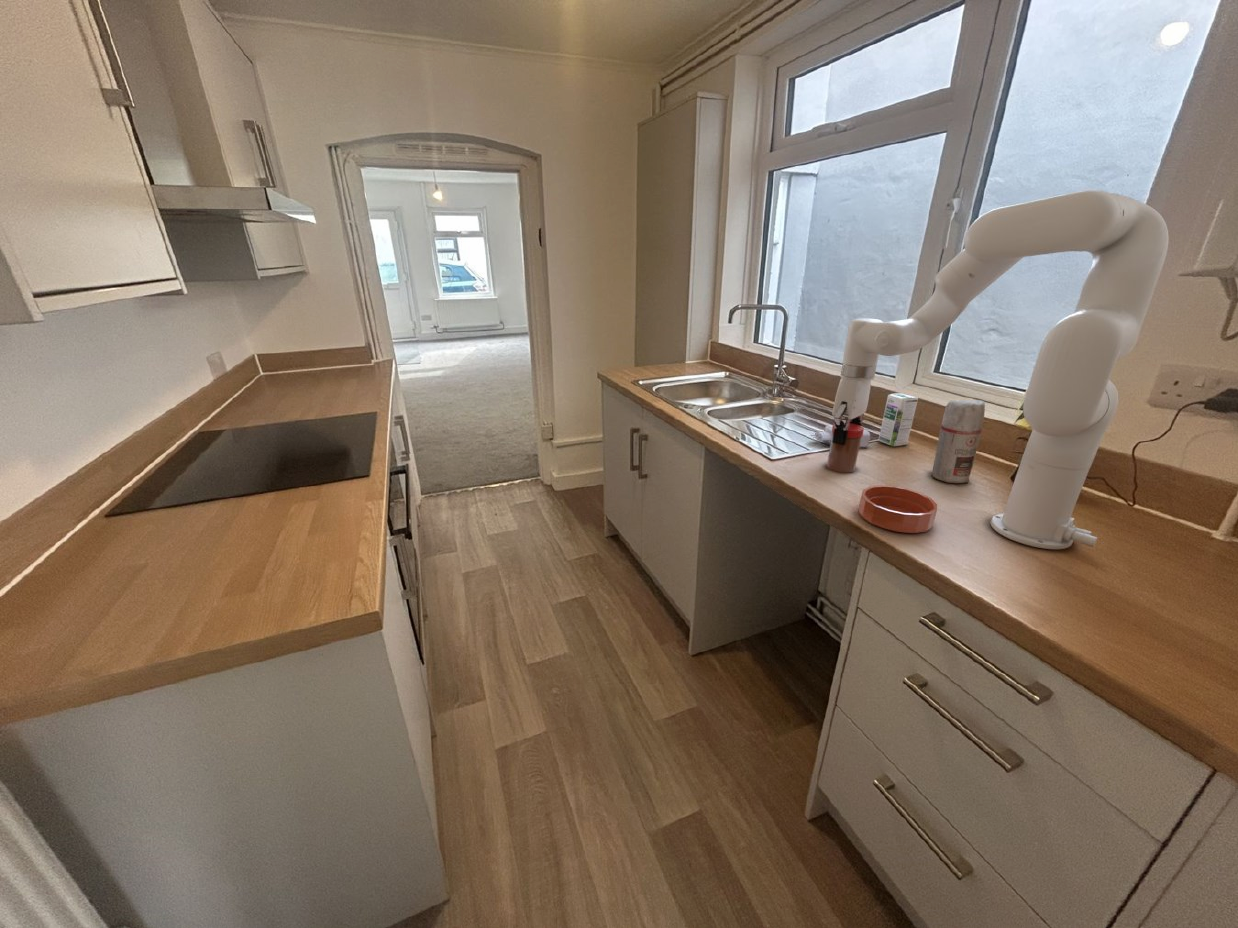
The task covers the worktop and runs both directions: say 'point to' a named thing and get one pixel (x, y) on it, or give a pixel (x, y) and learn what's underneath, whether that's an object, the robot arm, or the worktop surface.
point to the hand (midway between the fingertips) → (845, 439)
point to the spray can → (958, 440)
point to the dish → (897, 509)
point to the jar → (843, 455)
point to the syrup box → (897, 419)
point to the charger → (827, 436)
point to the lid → (853, 430)
